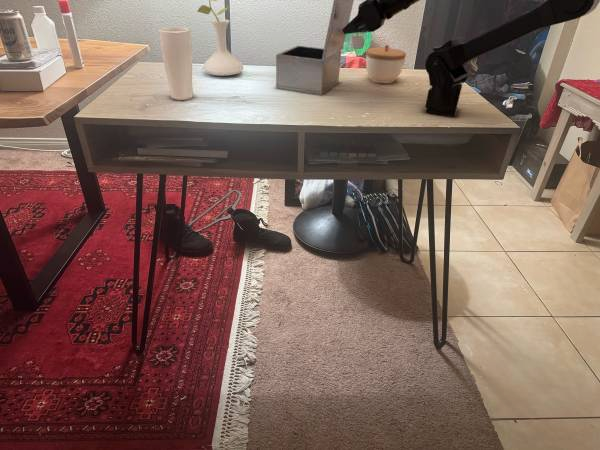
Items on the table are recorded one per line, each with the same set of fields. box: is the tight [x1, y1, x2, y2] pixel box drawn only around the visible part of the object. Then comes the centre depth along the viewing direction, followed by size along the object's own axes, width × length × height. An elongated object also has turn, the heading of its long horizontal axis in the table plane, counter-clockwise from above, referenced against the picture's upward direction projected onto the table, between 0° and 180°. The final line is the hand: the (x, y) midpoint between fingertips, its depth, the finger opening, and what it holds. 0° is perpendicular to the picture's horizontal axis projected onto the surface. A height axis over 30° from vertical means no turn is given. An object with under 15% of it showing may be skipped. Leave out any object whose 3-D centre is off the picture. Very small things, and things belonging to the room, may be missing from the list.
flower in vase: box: [196, 0, 245, 77], centre depth 115 cm, size 13×11×25 cm
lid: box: [322, 0, 355, 59], centre depth 104 cm, size 14×14×1 cm
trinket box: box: [365, 44, 407, 84], centre depth 119 cm, size 11×11×9 cm
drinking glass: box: [158, 26, 194, 101], centre depth 98 cm, size 7×7×15 cm
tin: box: [275, 45, 342, 96], centre depth 113 cm, size 13×14×8 cm
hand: (348, 27), depth 102 cm, fingers open, 9 cm apart
